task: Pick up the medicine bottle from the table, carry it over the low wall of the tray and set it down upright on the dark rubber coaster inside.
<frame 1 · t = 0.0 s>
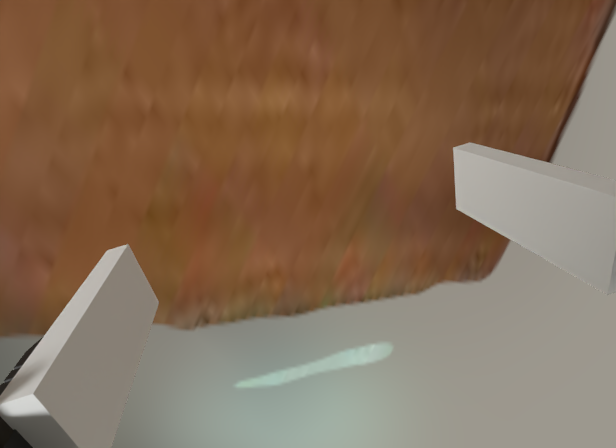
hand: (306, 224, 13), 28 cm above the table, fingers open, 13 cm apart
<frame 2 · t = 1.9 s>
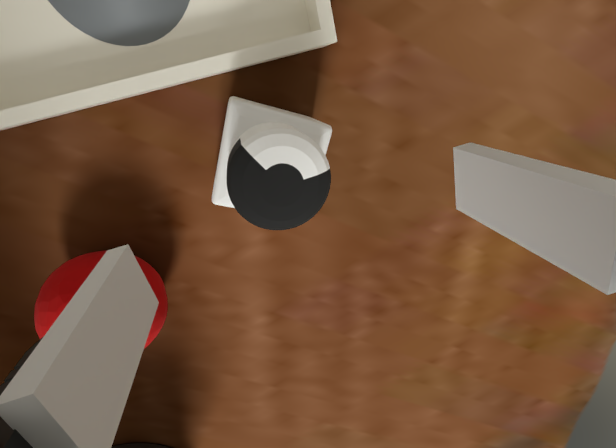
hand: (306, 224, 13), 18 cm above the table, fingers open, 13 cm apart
medicine bottle: (263, 147, 30), on the table
fruit: (122, 277, 32), on the table
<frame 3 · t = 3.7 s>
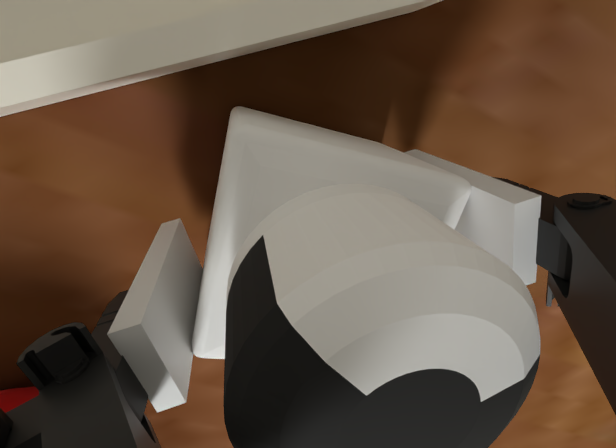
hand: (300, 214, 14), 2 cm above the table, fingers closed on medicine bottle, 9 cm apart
medicine bottle: (292, 197, 17), on the table, touching gripper
fruit: (48, 414, 19), on the table
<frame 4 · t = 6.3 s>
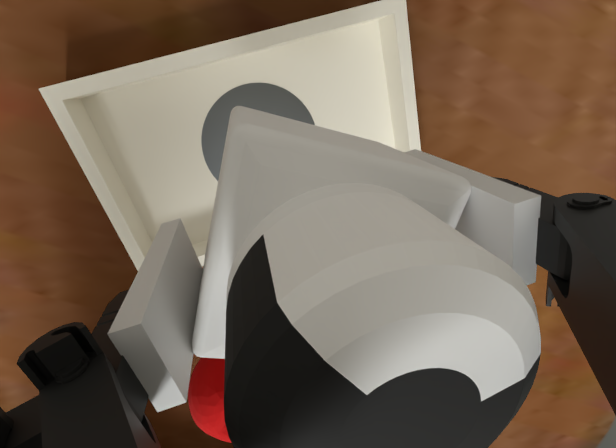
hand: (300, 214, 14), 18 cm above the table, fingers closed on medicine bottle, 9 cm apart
tray: (260, 143, 30), on the table
medicine bottle: (292, 197, 17), point 15 cm above the table, touching gripper
fruit: (234, 357, 39), on the table
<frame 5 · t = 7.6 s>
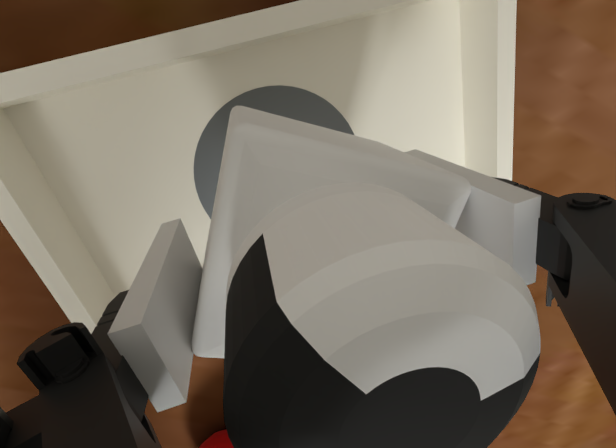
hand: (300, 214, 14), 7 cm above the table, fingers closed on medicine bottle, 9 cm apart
tray: (279, 171, 21), on the table
medicine bottle: (292, 196, 17), point 5 cm above the table, touching gripper
fruit: (237, 441, 30), on the table
when the fingers open (4 cm above the table, at t = 8.8 s): medicine bottle stays where it is, resting on tray.
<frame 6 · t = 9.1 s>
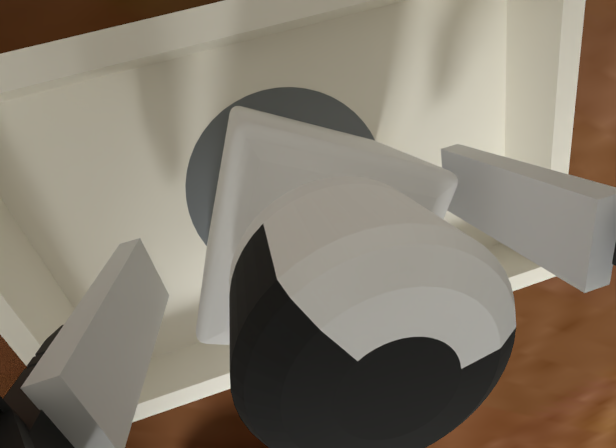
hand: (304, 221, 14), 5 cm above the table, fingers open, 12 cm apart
tray: (287, 188, 18), on the table
medicine bottle: (289, 193, 17), point 1 cm above the table, touching tray
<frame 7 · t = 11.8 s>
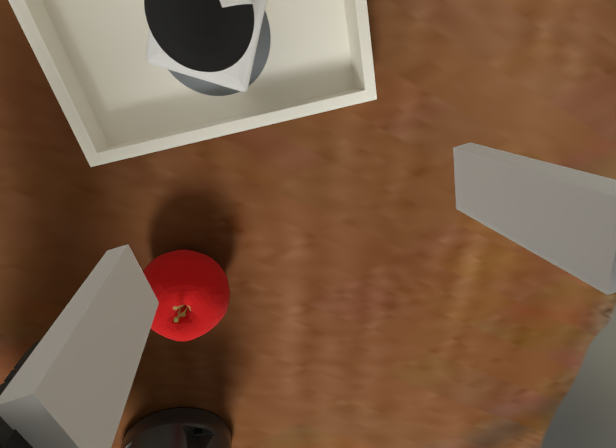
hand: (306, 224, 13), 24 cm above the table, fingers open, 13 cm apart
tray: (213, 35, 30), on the table
medicine bottle: (213, 35, 30), point 1 cm above the table, touching tray
fruit: (189, 271, 39), on the table
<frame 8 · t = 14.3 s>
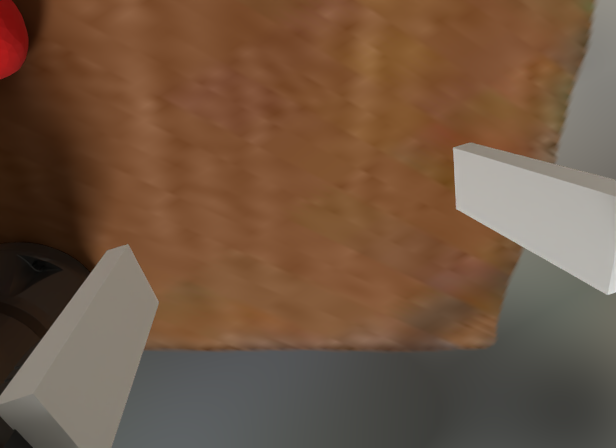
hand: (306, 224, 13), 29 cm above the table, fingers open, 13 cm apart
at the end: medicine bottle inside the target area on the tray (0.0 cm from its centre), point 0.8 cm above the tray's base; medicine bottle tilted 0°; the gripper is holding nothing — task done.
